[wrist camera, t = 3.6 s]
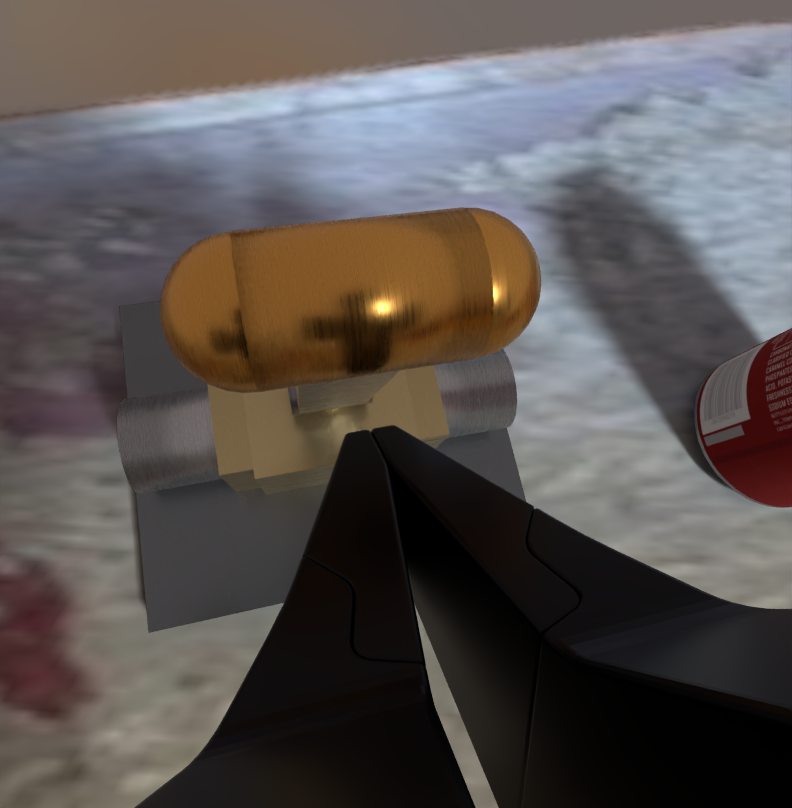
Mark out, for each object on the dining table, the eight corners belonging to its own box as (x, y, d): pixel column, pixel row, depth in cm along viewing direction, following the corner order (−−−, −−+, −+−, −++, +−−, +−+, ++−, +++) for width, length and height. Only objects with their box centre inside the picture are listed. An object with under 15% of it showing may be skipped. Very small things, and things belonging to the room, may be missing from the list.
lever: (417, 409, 18) (583, 329, 7) (245, 438, 17) (153, 394, 6) (404, 342, 18) (549, 171, 8) (233, 367, 17) (126, 210, 7)
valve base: (526, 546, 22) (582, 541, 18) (158, 629, 20) (107, 648, 15) (457, 277, 25) (489, 211, 21) (129, 319, 23) (79, 253, 18)
